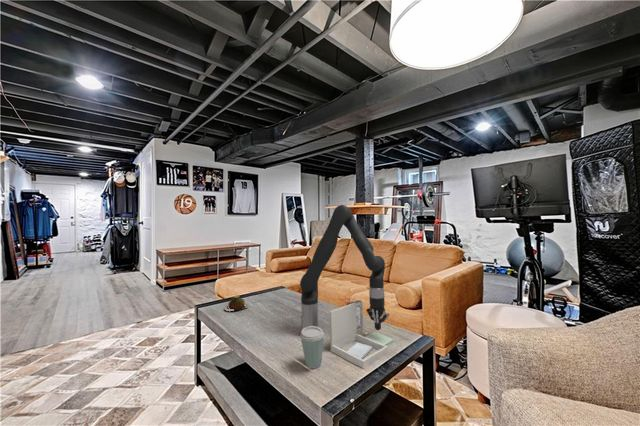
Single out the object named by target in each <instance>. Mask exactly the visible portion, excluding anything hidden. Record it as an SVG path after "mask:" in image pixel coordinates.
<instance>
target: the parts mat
mask: <svg viewBox="0 0 640 426" xmlns="http://www.w3.org/2000/svg"><path fill="white" fill-rule="evenodd" d="M365 337H366V338H368V339H371V340H373V341H376V342H378V343H381V344H383V345H385V346H388V347H389V346H390V345H391V344H393V343H395V338H391V337H389V336H386V335H384V334H382V333H379V332H376V331H373V332H372V333H370V334H368V335H366V336H365Z"/></svg>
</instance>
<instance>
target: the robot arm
mask: <svg viewBox="0 0 640 426" xmlns="http://www.w3.org/2000/svg"><path fill="white" fill-rule="evenodd" d="M343 226H344V227H345V228H346V229H347V231H348V232H349V234H350V236H351V238H352V241H353V243H354V244H355V246H356V247H357V249H358V250H359V252H360V254H361V256H362V259H363V262H364V263H365V266H366V267H367V269H368V270H369V271H371V275H370V276H369V280H368V282H369V291H368V293H369V294H368V295H369V297H368V298H369V307H368V308H367V309H366V312H367V315H368V316H369V319H370V320H371V321H373V322H374V329H375V331H380V330H382V323H384V322H385V321H386V320H387V319H388V317H390V313H387V312H386V308H385V300H386V299H385V289H384V285H385V284H384V276H385V268H386V263H385V259H384V258H383V256H380V255H375V253H374V247H373V245H372V243H371V242H370V240H369V239H368V237H367V236H366V235H365V233H364V232H363V230H362V229H361V227H360V225H359V223H358V222H357V220H356V218H355V216H354V213H353V211H352V209H351V208H349V206H347V205H345V204H340V205H338V206H336V207H335V208H334V210H333V213H332V216H331V217H330V221H329V223H328V225H327V227H326V229H325V231H324V233H323V235H322V237H321V239H320V241H319V242H318V244H317V246H316V249H315V250H314V253H313V256H312V259H311V262H310V265H309V266H308V267H307V270H306V271H305V273H304V274H303V275H302V276H301V279H300V280H299V281H300V282H299V287H300V288H301V296H300V297H301V298H300V299H301V301H300V303H301V316H300V321H301V323H300V324H301V330H302V329H304V328H305V327H309V326H316V327H319V328H320V326H319V325H320V324H319V323H320V322H319V282H318V281H319V280H320V276H321V274H322V272H323V271H324V269H325V267H326V265H327V264H328V262H329V261H330V259H331V257H332V256H333V254H334V252H335V249H336V247H337V244H338V238H339V234H340V231H341V229H342V228H343Z"/></svg>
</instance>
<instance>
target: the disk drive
mask: <svg viewBox="0 0 640 426" xmlns="http://www.w3.org/2000/svg"><path fill="white" fill-rule="evenodd" d="M354 302H355V303H356V316H358V318H359V320H360V323H361V325H362V327H363V326H364V320H363V317H364V316H363V313H364V312H363V301H362V300H359V299H358V300H355V301H350V302H347V303H346V304H345V306H346V305H349V304H352V303H354ZM356 323H357V329H359V328H361V327H360V324H359V322H358V319H357V317H356Z"/></svg>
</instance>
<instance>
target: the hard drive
mask: <svg viewBox="0 0 640 426" xmlns="http://www.w3.org/2000/svg"><path fill="white" fill-rule="evenodd" d="M372 350H373V347H371V346H368V345H366V344H363V343H361V342H356V343H355V344H353V346H351V347H350V348H349V349H348V350H347V352H349V353H351V354H353V355H355V356H357V357H359V358H361V359H365V358H366V356H368V354H369V353H371V351H372Z"/></svg>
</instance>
